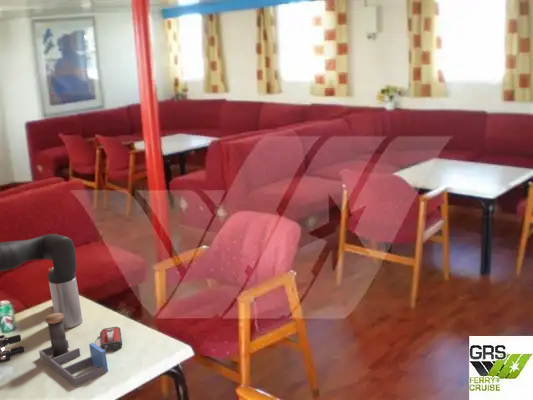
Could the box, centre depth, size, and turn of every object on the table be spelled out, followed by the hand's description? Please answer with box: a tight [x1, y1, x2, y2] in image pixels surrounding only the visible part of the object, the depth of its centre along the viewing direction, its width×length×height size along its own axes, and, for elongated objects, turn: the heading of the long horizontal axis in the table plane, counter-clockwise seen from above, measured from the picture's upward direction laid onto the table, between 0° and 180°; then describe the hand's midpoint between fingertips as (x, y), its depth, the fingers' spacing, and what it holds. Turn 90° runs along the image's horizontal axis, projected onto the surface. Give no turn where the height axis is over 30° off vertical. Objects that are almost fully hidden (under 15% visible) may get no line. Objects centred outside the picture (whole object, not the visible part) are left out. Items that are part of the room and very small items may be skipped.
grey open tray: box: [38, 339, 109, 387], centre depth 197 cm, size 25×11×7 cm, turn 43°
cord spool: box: [45, 312, 71, 359], centre depth 202 cm, size 6×6×14 cm
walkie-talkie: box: [94, 326, 123, 352], centre depth 207 cm, size 9×4×20 cm
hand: (22, 343), depth 197 cm, fingers open, 8 cm apart
